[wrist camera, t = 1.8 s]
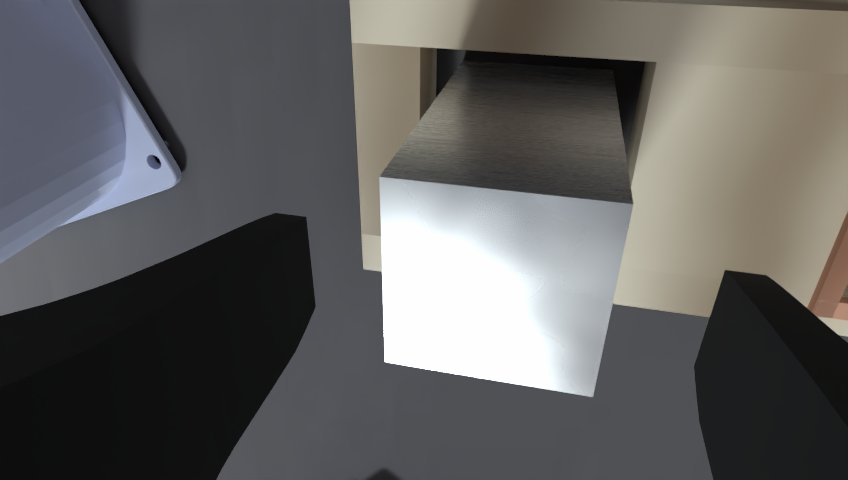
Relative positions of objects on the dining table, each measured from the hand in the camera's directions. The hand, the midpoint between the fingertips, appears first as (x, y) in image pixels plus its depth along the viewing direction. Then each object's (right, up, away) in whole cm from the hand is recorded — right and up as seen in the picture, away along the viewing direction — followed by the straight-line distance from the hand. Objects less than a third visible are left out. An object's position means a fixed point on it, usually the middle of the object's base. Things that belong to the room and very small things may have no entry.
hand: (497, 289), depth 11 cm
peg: (+2, +4, +7) cm, 8 cm away
